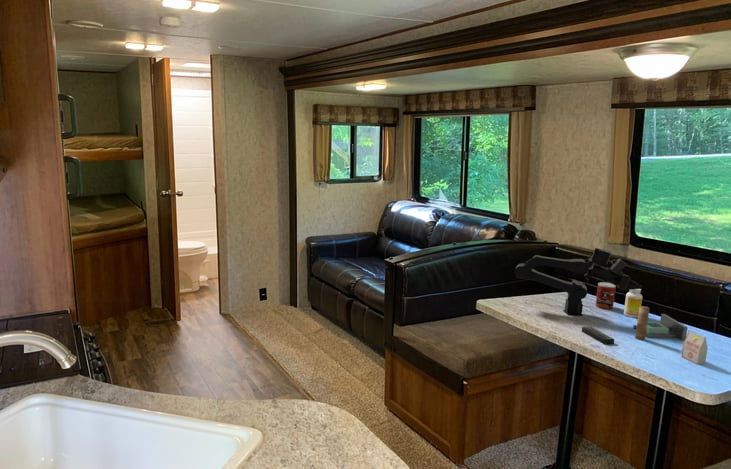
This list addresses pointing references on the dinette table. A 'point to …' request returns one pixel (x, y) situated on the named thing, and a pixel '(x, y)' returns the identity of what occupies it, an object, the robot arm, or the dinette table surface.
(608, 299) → the canned food
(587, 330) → the multiport hub
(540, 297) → the dinette table surface
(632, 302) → the supplement bottle
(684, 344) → the gable top carton
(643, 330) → the walnut dowel
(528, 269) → the robot arm
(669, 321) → the rail and backstop frame
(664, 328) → the sliding socket block
